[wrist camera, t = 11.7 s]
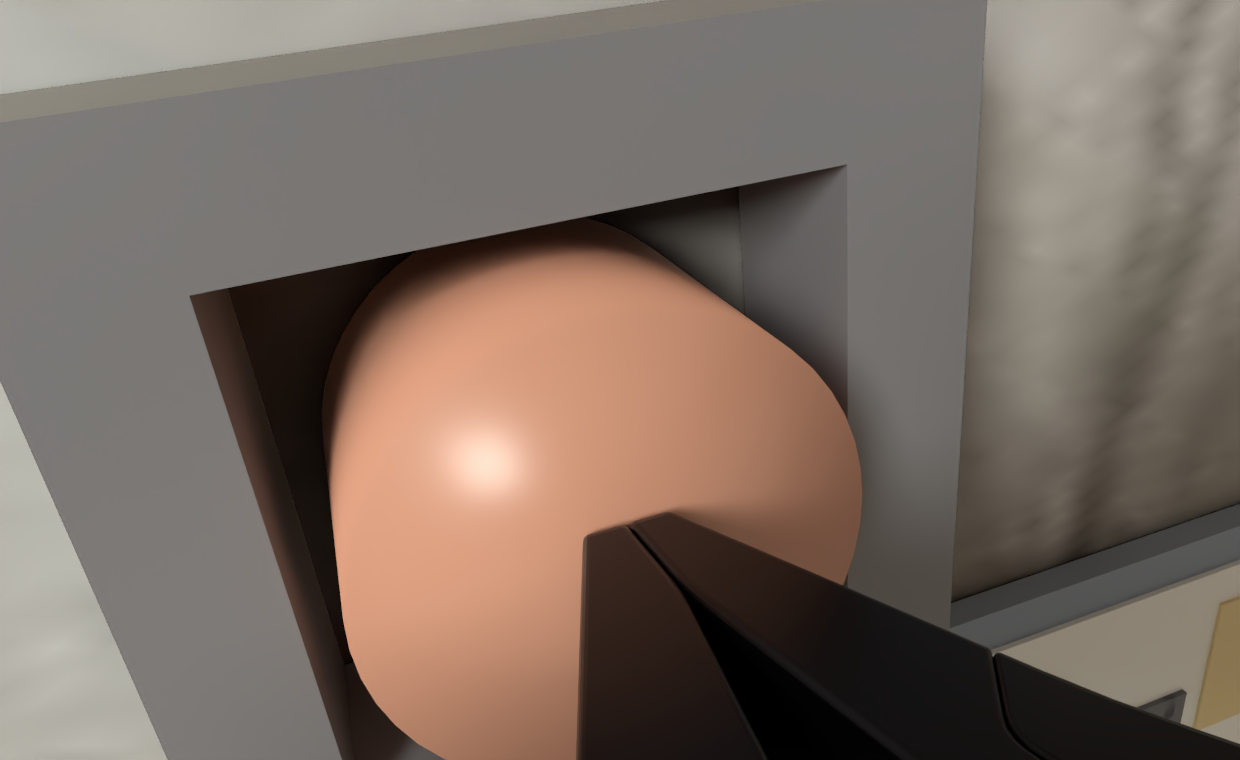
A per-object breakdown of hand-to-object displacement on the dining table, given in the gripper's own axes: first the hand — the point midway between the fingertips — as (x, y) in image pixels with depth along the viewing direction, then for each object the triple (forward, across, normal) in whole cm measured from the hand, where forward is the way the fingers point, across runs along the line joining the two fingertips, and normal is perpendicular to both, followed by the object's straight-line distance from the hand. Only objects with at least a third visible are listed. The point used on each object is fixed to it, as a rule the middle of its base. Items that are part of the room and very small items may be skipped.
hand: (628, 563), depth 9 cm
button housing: (+4, 0, 0) cm, 4 cm away
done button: (+3, 0, 0) cm, 3 cm away
